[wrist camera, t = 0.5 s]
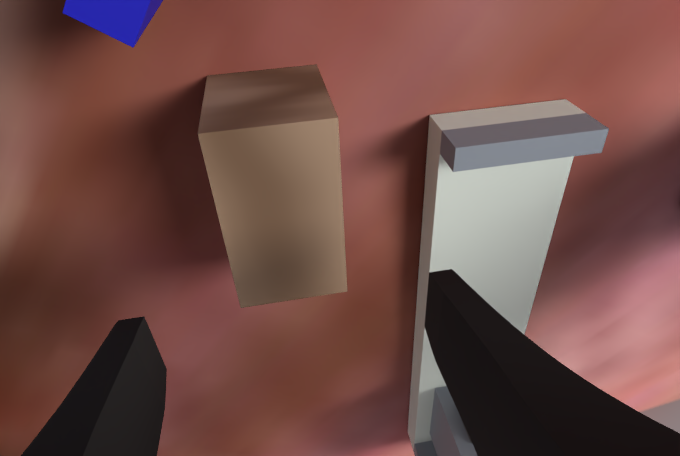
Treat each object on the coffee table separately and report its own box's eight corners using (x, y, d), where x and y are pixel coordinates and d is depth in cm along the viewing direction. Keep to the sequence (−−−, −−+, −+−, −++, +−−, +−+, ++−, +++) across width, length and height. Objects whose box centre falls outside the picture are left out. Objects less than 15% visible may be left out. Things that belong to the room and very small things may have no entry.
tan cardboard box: (316, 63, 18) (338, 117, 14) (328, 226, 22) (348, 302, 18) (207, 74, 17) (197, 133, 13) (242, 238, 22) (243, 318, 18)
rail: (565, 99, 20) (677, 175, 15) (487, 416, 35) (531, 510, 29) (429, 115, 20) (497, 200, 14) (407, 431, 34) (437, 530, 29)
